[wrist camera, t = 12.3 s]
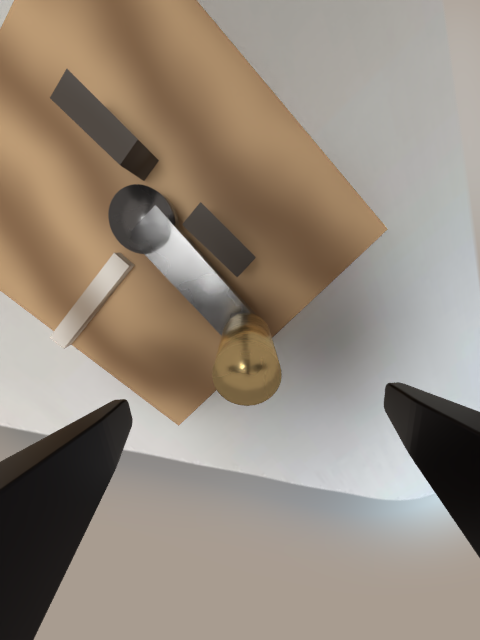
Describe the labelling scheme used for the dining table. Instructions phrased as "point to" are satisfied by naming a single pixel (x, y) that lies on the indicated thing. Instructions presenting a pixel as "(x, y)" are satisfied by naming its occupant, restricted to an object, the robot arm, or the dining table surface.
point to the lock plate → (156, 186)
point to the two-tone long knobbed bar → (200, 293)
